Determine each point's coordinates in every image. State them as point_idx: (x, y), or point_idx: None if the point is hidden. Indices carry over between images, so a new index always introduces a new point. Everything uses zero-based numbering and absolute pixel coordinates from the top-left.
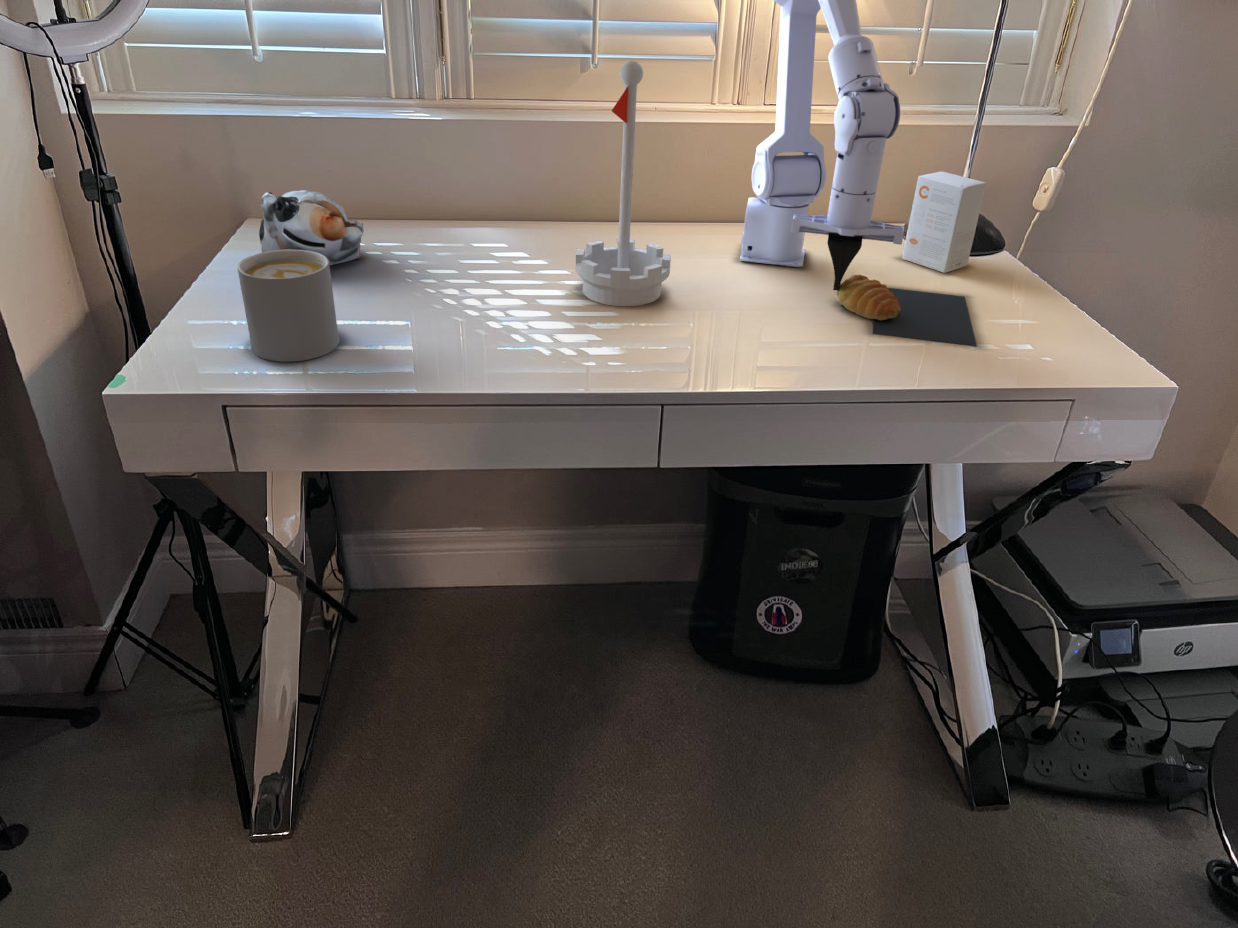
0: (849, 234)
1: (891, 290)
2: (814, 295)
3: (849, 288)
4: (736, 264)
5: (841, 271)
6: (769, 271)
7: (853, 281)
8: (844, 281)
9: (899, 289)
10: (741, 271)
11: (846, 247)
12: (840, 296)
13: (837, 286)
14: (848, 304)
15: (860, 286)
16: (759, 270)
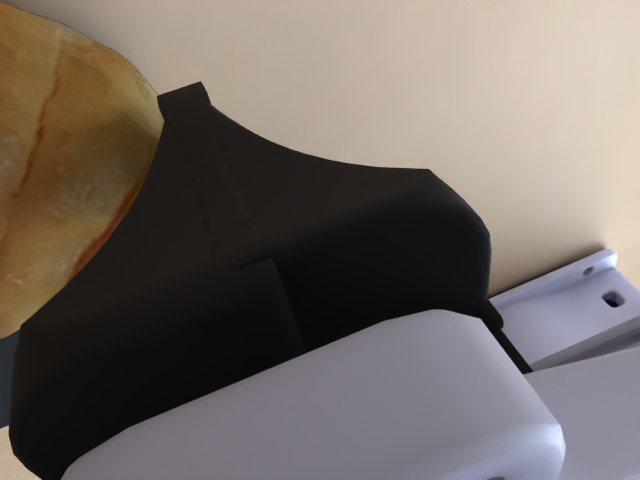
0: (194, 453)
1: None
2: (309, 134)
3: (91, 133)
4: (621, 218)
5: (183, 149)
6: (516, 240)
7: (107, 220)
8: None
9: (1, 423)
10: (613, 175)
11: (204, 275)
12: (139, 85)
13: (177, 95)
14: (36, 18)
15: (4, 166)
16: (550, 224)
